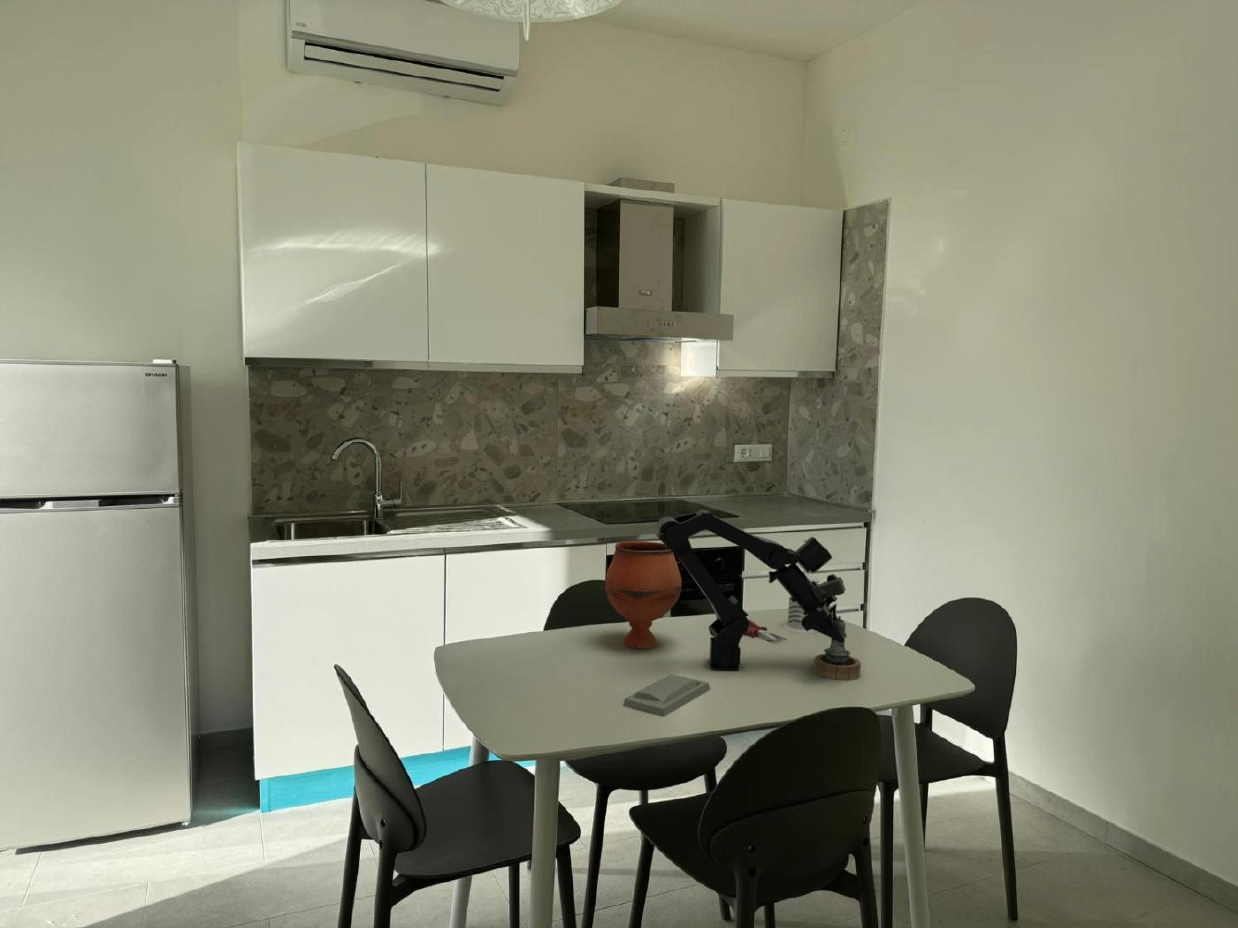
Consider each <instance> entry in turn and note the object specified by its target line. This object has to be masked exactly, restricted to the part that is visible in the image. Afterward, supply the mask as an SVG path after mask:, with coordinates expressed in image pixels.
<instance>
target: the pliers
mask: <svg viewBox="0 0 1238 928" xmlns="http://www.w3.org/2000/svg"><path fill="white" fill-rule="evenodd" d="M748 621H749V628H748V630H747V632H746V633H745V634H744V635H743V636H745V637H751V639H755V638H760V640H761V639H762V640H766V641H770V642H775V643H780V641H787V638H785V637H782V636H780V635H778V634H776V633H774V632H771V631H769V630H768V628H767V627H766V626H759V625H758V624H757V623H755V622H754V621H753V620H750V619H748Z"/></svg>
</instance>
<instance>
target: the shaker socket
mask: <svg viewBox="0 0 1238 928" xmlns="http://www.w3.org/2000/svg"><path fill="white" fill-rule="evenodd" d="M828 662H829V661H828V660H827V658H826V655H825V653H821V654H818V655H816V656H815V657H814V667H813V672H815V674H816V675H818V676H820V677H823V678H826V679H830V680H835V681H836V680H837V681H851V680H855V679H856V680H857V679H858V678H859V677H860V676H861V666H862V665H861V664H862V662H861V661H860V660H859V659H858V658H856V657H854V656H851V655H849V658H848V660H847V661H846V662H845V663H842V664H845V665H846V666H840V665H832V664H828Z"/></svg>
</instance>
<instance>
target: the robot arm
mask: <svg viewBox="0 0 1238 928" xmlns="http://www.w3.org/2000/svg"><path fill="white" fill-rule="evenodd" d="M705 530H706V531H708V532H711V533H712V534H714V535H716V536H718V537H720V538H722V539H724V540H726V541H728V542H730V543H731V544H734V545H736V546H738V547H740V548H742V549H744V550H745V551H747V552H749V553H750V554H751V555H752V556H754V557H755V558H756V559H757V560H759V561H760V562H761V563H763V564H765V565H766V566H767V567H768V568H769V569H772V570H774V571H771V570H769V571H768V580H767V581H768V583H769V584H772V583H774V582H775V581H778V582H779V583H780V585H781V587H783V588H784V590H786V592H787V593H788V594H789V596H790V597H792V599H791V600H792V601H793V602H795V601H796V603H797V604H798V605H799V606H800V607H801V608H802V610H803V611H804V612H803V613H802V614H803V615H805V616H804V617H803V618H801V619H802V626H803V627H804V629H805V630H806V631H809V630H810V629H812V630H816V631H818V632H817V633H820V634H822V635H824V636H826V637H829V638H830V639H834V640H836V641H838V642H840V643H842V642H844V641H845V642H846V638H845V639H844V637H843V636H842V634H841V632H840V631H839V629H838V628H837V626H836V624H835V623H834V621H835V620H837V619H839V618H838V617H839V616H837V605H838V604H837V603H836V602H837V600H838V597H837V596H841V595H843V594H845V591H847V590H846V587H845V584H844V580H843V579H842V577H841V576H837V575H836V574H834V573H833V574H829V575H827V577H826V581H823V582H822V583H819V584H818V583H816V582H815V581H813V580H812V581H810V580H809V579H808V578H807V576H806V575H805V574H804V572H805V573H808V574H809V573H811V574H815V573H816V572H818V571H819V570H820V569H821V568H822V567H824V566H825V565H826V564H827V563H828V562H829V561H831V560H832V559H833V556H832V555H831V553H830V552H829V550H828V549H827V548H826V547H824V545H822V543H820V542H819V541H818V540H817V538H815V537H814V536H811V537H808V538H809V539H808V540H807V542H806V543H805V542H804V543H803V544H802V545H801V546H800V547H799V548H797V549H796V550H793V549H792V548H786V547H784V545H782V544H780V543H778V542H777V541H775V540H772V539H768V538H765V537H761V536H758V535H754V534H751V533H749V532H747V531H744V530H743V529H741V528H739V527H737V526H735V525H733V524H731V523H730V522H727V521H726V520H724V519H721V518H719V517H718V516H715V515H714V514H713V513H711V512H710V511H709V510H706V509H700V510H698V511H694V512H691V513H687V514H683V515H678V516H676V517H671V516H666V517H661V518H660V519H658V521H657V522H656V524H655V526H654V533H655V535H656V537H657V538H658V540H660V541H661V543H663V544H665V545H666V546H667V547H668V548H669V549H670V550H671V551H672V552H673V554H674V556H676V557H677V558H678V560H679V561H680V562H681V564H682V565H683V566H684V568H685V569H686V570H687V572H688V573H689V575H690V576H691V578H692V579H693V580H694V582H695V583H696V585H697V586H698V587H699V589H700V590H701V592H702V593H703V594H704V596H705V598H707V600H708V602H709V603H710V605H711V607H712V611H713V613H714V614H715V617H716V618H715V620H714V621H712V622H711V624H710V625H708V632H709V634H710V636H712V637H710V640H709V658H708V659H707V663H708V665H709V668H710V669H711V670H722V671H729V670H730V671H739V669H740V667H739V666H741V649H742V648H741V646H740V643H741V640H742V638H743V636H744V634H745V633H746V632H747V630H748V628H749V621H748V620H749V619H748V617H749V614H748V613H747V612H746V610H744V609H743V607H742V604H741V603H740V601H739V600H738V599H737V598H736V597H735V596H734V595H731V596H730V597H729V598H728V597H727V596H726V595H725V594H724V592H723V590H722V589H721V587H720V586H719V585H718V584H717V582H716V581H715V579H714V577H712V575H711V574H710V572H709V571H708V570H707V568H706V567H705V565H704V564H703V562H702V561H701V560H700V558H699V556H698V555H697V554H696V553H695V551H694V549H693V547H692V545H691V542H690V539H689V537H692V536H694V535H696V534H698V533H700V532H702V531H705ZM797 564H798V565H797ZM786 565H788V566H786ZM802 569H803V570H802ZM803 571H804V572H803ZM833 602H834V604H833ZM831 604H833V605H831ZM845 635H846V637H848V636H847V632H845Z"/></svg>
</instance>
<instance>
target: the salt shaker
mask: <svg viewBox="0 0 1238 928" xmlns="http://www.w3.org/2000/svg"><path fill="white" fill-rule="evenodd" d="M837 617H838V619H837V620H835V621H834V623H835V624H836V626H837V628H838V629H839V631H840V632H841V634H842V636H843V637H844V639H845V641H844V642H842V643H840V642H838V641H836V640H834V639H832V638H830V639H831V642H830V646H829V647H828V648H825V649H824V650H823V652H824V654H825V655H826V658H827V660H828V661H829V662H828V664H832V665H840V666H846V665H845V664H842V663H845V662H846V661H847V660H848V658H849V656H851V652H850V651H848V650H847V649H846V646H845V642H846V638H847V636H846V635H847V634H846V635H845V633H846V622H845V620H843V619H842V617H841V615H839V616H837Z"/></svg>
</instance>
